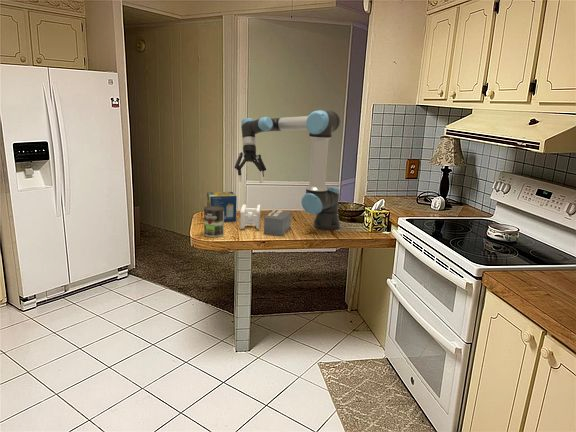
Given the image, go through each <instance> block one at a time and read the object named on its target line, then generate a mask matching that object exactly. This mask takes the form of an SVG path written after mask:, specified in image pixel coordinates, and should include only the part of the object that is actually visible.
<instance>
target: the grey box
mask: <svg viewBox="0 0 576 432" xmlns="http://www.w3.org/2000/svg"><path fill="white" fill-rule="evenodd" d="M291 218H292V211H287V210H279V209H273V210H272V211H271V212H269V213H268V214H266V215H265V217H264V220H263V221H264V222H263V234H264V235H267V236H268V235H269V236H270V235H271V236H278V237H283V236H284V235H285V234H286V232H287V231H288V230H289V229H290V228H291V221H292V219H291Z"/></svg>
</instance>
